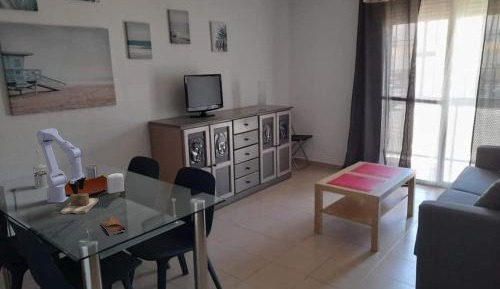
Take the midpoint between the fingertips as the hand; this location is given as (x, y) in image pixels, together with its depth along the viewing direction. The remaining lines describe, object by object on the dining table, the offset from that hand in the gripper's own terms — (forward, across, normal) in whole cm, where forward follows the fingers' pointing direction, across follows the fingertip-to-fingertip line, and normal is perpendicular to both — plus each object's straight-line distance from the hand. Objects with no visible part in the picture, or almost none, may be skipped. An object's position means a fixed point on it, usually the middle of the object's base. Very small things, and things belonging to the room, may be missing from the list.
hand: (78, 191), depth 219 cm
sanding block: (+8, 0, 0) cm, 8 cm away
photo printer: (+10, +24, -13) cm, 29 cm away
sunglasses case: (+10, -28, -28) cm, 41 cm away
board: (+9, 0, 0) cm, 9 cm away
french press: (+10, +36, +41) cm, 56 cm away
